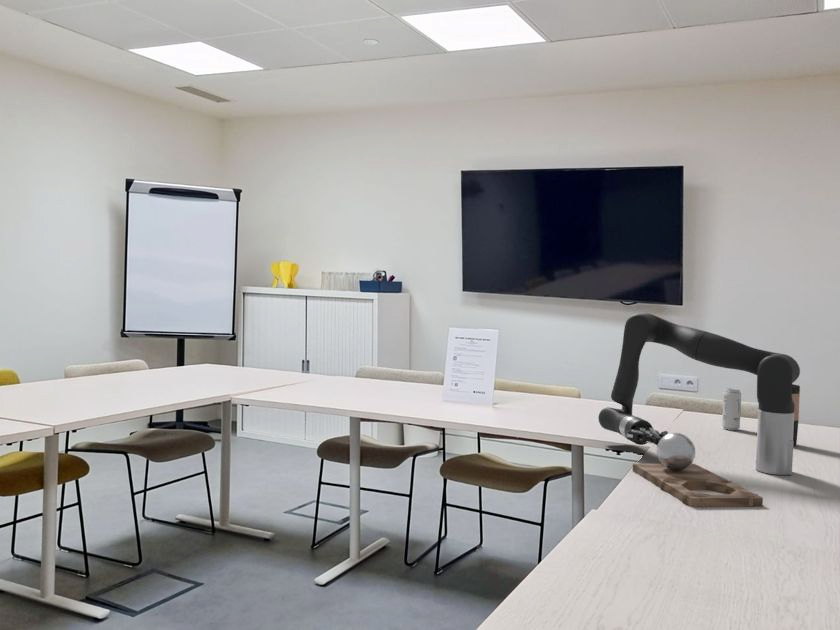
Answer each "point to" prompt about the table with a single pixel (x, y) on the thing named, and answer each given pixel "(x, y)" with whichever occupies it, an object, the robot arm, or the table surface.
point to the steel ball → (675, 451)
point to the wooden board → (697, 486)
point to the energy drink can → (731, 409)
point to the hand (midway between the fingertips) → (660, 441)
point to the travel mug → (795, 410)
